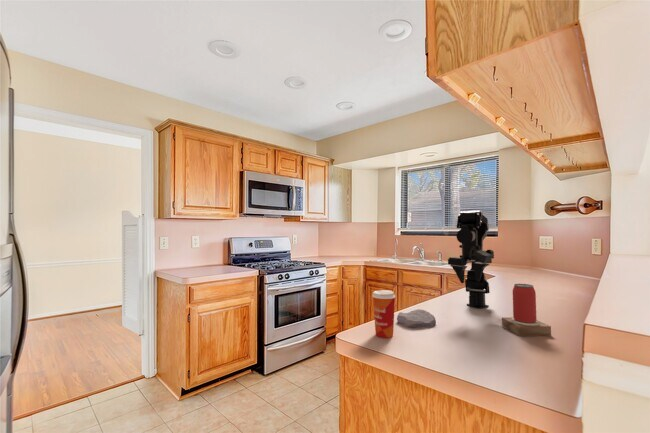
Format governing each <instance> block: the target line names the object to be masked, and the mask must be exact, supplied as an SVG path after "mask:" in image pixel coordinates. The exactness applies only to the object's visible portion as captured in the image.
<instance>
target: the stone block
mask: <svg viewBox="0 0 650 433" xmlns="http://www.w3.org/2000/svg"><path fill="white" fill-rule="evenodd" d="M396 321H397V323H398V324H400V325H403V326H405V327H407V328H426V327H427V328H431V327H434V326H436V325H437V324H436V323H437V321H436V317H435V316H434V315H433V314H432V313H430V311H427V310H425V309H421V308H420V309H414V310H411V311H409V312H398V314H397V317H396Z"/></svg>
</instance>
